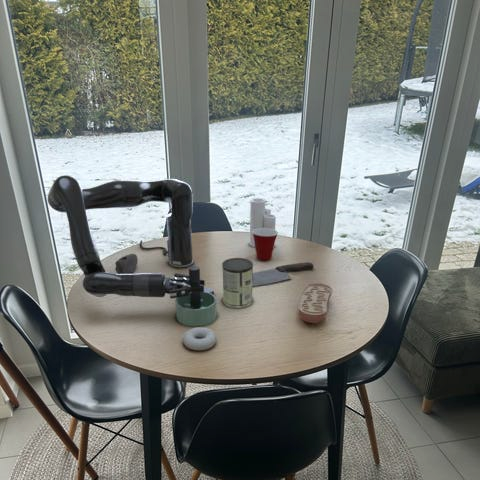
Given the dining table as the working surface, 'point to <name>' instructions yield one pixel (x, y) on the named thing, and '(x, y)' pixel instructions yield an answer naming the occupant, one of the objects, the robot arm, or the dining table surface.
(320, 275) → the dining table surface
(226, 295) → the coffee can
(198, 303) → the food processor blade
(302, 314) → the anatomical model
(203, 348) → the donut
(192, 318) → the processor bowl
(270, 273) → the cleaver
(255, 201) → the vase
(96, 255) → the robot arm
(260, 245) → the plastic cup
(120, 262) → the perforated stone tool
